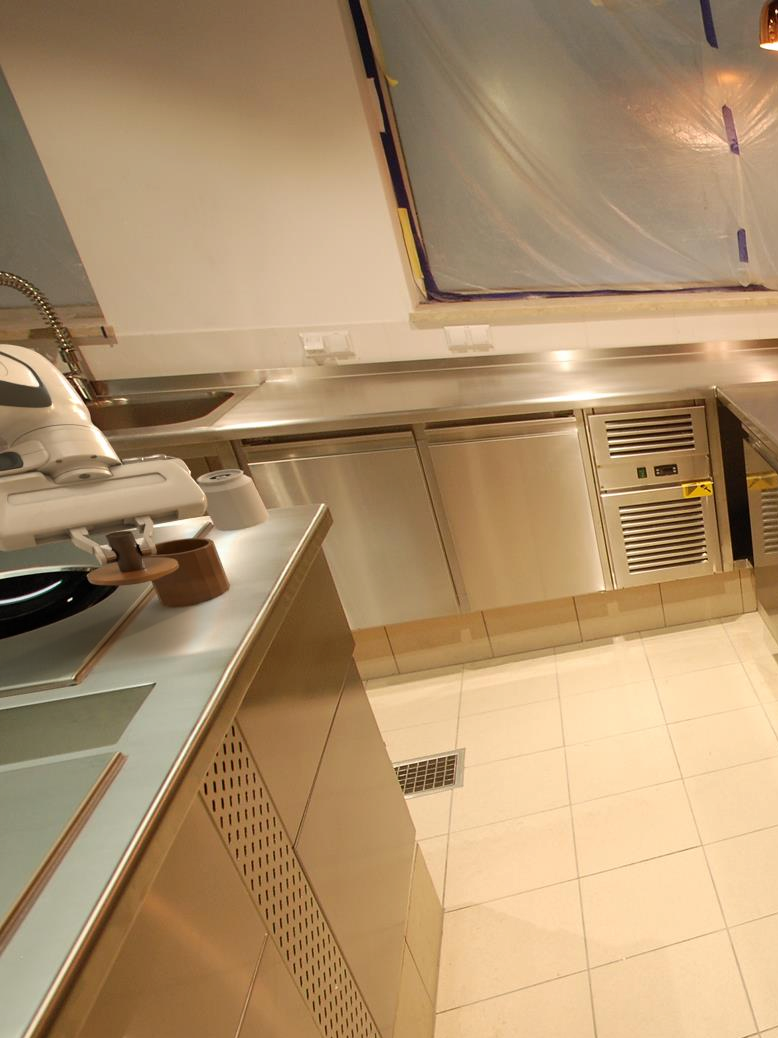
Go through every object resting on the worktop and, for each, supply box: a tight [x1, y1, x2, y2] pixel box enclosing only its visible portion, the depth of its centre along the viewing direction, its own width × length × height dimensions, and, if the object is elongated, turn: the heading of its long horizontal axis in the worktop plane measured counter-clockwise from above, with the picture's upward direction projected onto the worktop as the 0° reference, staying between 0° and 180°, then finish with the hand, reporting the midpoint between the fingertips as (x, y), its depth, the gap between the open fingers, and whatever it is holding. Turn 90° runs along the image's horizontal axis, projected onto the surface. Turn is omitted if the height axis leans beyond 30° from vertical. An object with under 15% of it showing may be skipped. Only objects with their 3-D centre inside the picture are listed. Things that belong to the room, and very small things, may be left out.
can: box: [196, 468, 270, 532], centre depth 142 cm, size 8×8×12 cm
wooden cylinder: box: [142, 537, 231, 609], centre depth 119 cm, size 8×8×8 cm
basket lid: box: [86, 530, 179, 587], centre depth 104 cm, size 8×8×6 cm
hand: (129, 557), depth 103 cm, fingers closed on basket lid, 2 cm apart
